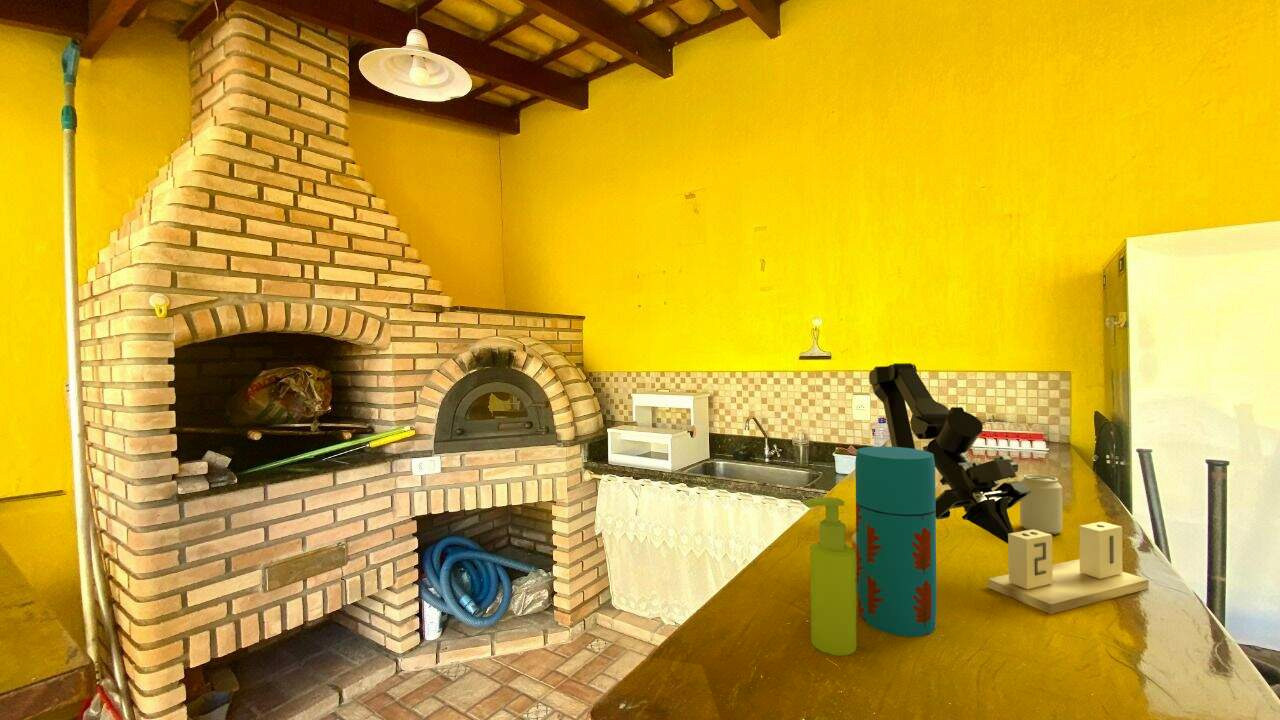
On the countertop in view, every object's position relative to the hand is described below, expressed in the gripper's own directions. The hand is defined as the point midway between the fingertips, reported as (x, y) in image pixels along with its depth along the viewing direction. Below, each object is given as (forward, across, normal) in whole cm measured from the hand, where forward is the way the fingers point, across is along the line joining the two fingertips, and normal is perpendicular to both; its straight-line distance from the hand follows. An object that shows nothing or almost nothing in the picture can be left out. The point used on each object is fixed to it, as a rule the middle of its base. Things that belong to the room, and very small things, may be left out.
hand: (1013, 543), depth 90 cm
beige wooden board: (+8, +8, +3) cm, 11 cm away
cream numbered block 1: (+7, +15, +1) cm, 17 cm away
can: (-8, +34, +18) cm, 39 cm away
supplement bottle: (-3, -20, +14) cm, 24 cm away
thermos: (+6, -27, +5) cm, 28 cm away
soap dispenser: (+8, -41, +3) cm, 42 cm away
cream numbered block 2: (+6, 0, +2) cm, 6 cm away
